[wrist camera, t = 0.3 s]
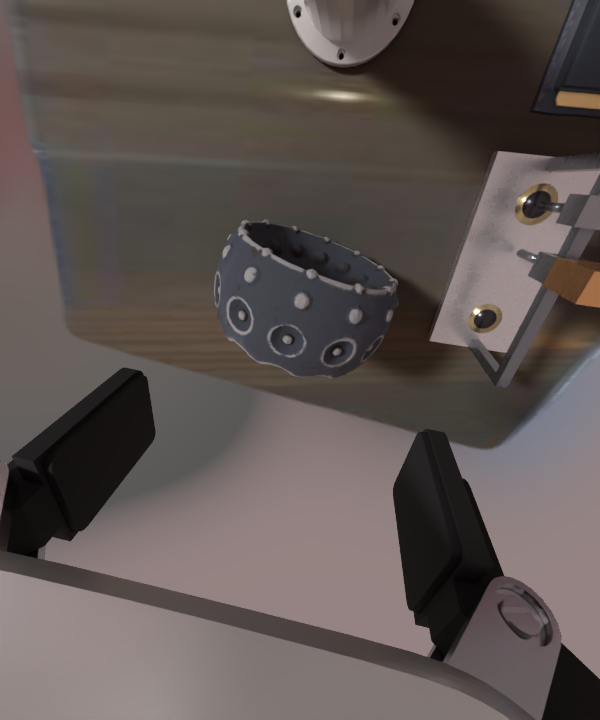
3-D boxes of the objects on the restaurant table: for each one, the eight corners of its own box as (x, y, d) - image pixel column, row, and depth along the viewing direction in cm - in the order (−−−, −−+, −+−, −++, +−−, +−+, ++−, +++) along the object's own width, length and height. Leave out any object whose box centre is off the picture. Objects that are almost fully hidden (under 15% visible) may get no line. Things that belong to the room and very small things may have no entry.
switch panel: (492, 152, 34) (556, 139, 23) (607, 164, 33) (727, 156, 22) (427, 336, 46) (449, 383, 35) (510, 349, 45) (558, 401, 34)
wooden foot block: (508, 238, 36) (594, 271, 23) (540, 242, 35) (646, 278, 23) (498, 261, 37) (575, 304, 24) (529, 265, 37) (623, 310, 24)
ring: (258, 207, 40) (188, 226, 23) (397, 262, 41) (429, 320, 24) (240, 282, 46) (173, 342, 29) (363, 329, 47) (369, 415, 30)
